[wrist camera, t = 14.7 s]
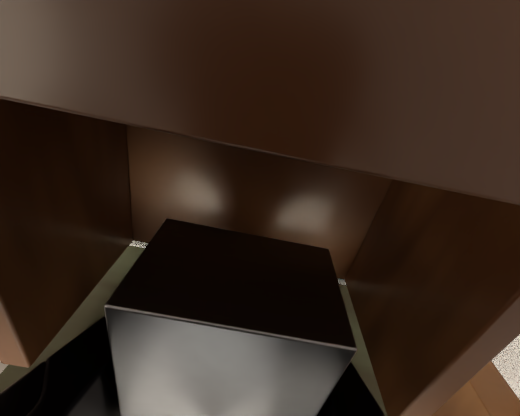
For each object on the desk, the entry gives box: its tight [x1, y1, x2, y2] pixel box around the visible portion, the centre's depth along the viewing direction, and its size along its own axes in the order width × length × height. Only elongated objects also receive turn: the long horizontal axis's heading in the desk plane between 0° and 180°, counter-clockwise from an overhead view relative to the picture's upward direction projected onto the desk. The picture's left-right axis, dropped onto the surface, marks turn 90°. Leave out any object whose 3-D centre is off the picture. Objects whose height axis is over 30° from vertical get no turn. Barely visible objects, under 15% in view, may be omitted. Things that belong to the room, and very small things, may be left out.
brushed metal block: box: [104, 219, 357, 416], centre depth 7 cm, size 6×4×3 cm, turn 169°
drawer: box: [0, 99, 520, 416], centre depth 10 cm, size 18×13×7 cm
